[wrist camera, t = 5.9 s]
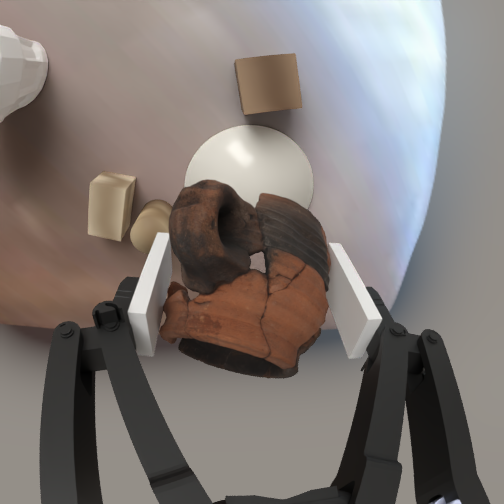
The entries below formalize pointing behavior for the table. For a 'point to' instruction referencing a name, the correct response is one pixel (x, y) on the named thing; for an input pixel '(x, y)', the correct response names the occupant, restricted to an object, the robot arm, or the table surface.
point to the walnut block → (268, 83)
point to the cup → (20, 71)
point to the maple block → (110, 205)
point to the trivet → (254, 164)
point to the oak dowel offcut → (150, 224)
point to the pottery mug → (246, 280)
